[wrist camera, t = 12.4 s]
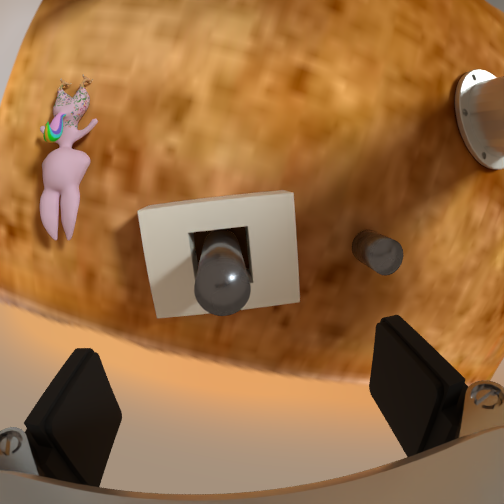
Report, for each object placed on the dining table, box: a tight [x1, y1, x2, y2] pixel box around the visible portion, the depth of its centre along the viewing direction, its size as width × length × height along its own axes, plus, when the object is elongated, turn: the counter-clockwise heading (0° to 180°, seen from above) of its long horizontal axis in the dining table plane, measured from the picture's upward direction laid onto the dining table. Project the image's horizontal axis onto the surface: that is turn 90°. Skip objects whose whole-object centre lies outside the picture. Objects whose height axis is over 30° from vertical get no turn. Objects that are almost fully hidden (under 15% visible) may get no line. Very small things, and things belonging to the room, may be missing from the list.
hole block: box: [138, 190, 300, 318], centre depth 26 cm, size 12×9×4 cm
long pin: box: [194, 229, 251, 316], centre depth 23 cm, size 3×3×11 cm
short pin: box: [352, 230, 403, 275], centre depth 28 cm, size 3×3×4 cm
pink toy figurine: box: [40, 75, 98, 240], centre depth 22 cm, size 6×6×15 cm
